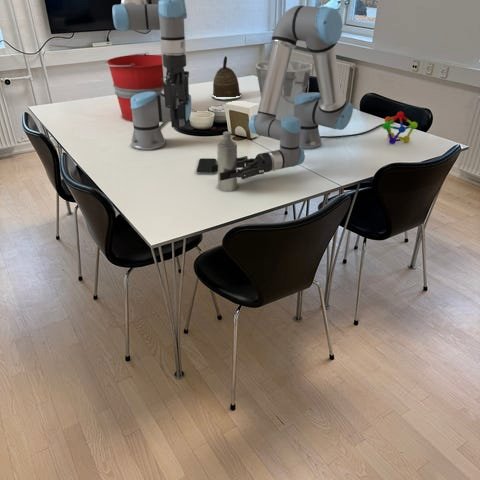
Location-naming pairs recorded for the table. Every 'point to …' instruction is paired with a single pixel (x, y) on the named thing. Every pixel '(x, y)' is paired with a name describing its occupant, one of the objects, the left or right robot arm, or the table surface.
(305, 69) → the bucket
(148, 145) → the left robot arm
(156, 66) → the bucket
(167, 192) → the table surface
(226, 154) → the bottle
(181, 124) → the cap
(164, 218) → the table surface
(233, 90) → the bell
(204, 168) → the smartphone
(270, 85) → the right robot arm
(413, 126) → the educational toy
